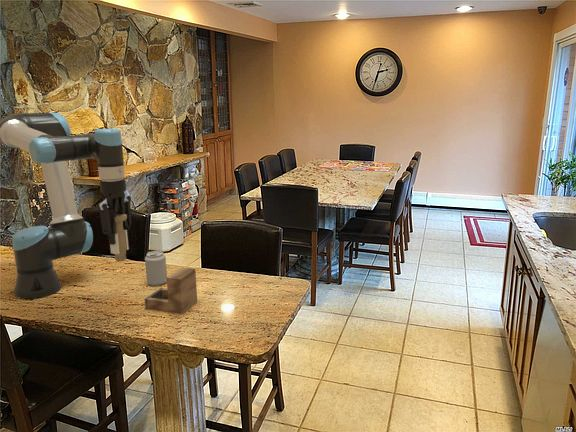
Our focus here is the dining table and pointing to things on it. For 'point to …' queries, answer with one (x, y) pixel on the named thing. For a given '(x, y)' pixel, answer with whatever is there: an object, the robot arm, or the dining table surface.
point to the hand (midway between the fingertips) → (119, 251)
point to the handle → (120, 237)
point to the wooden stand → (175, 293)
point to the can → (156, 268)
